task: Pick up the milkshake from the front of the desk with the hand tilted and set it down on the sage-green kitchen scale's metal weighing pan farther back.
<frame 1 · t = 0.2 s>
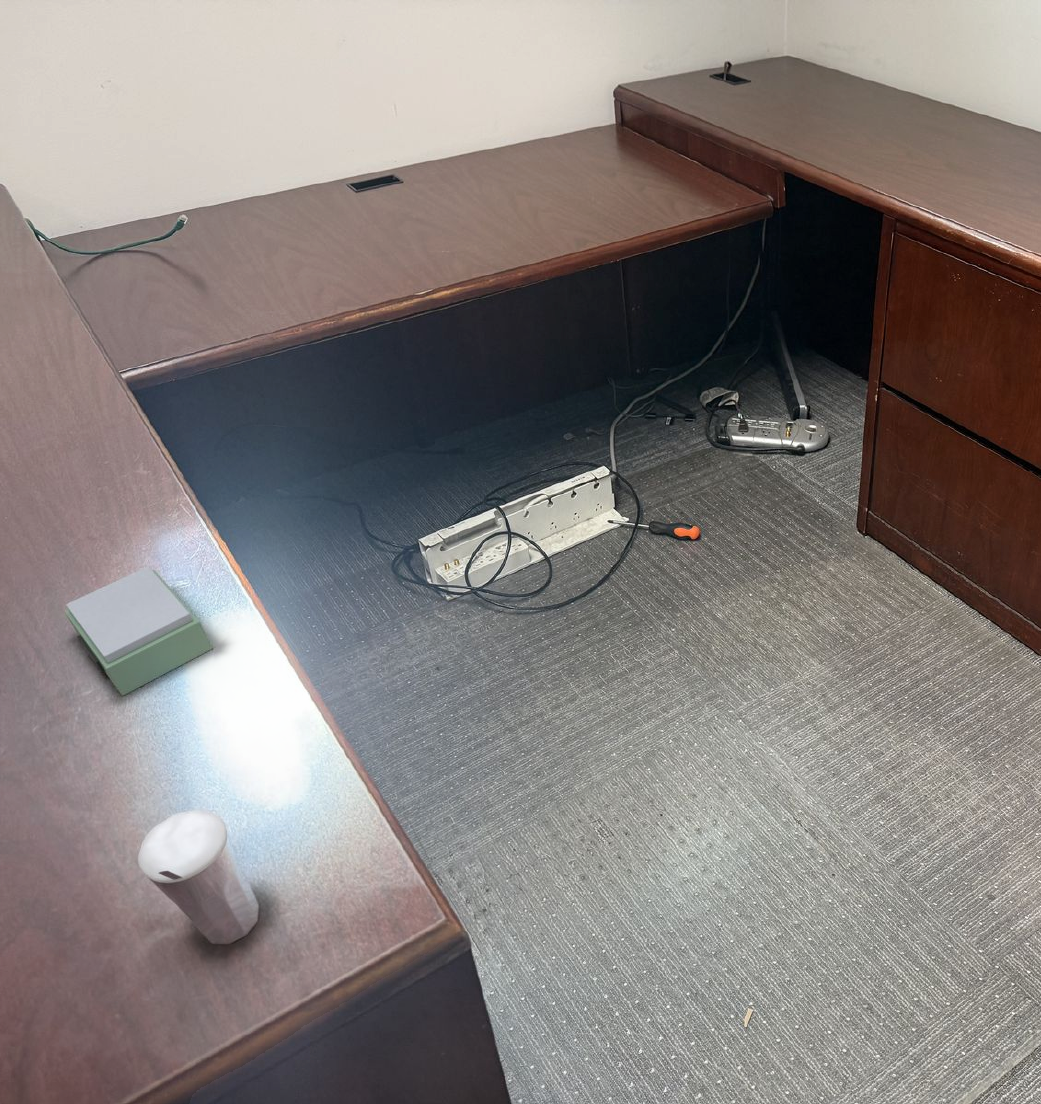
milkshake: (232, 928, 62), on the table
scale: (146, 643, 80), on the table
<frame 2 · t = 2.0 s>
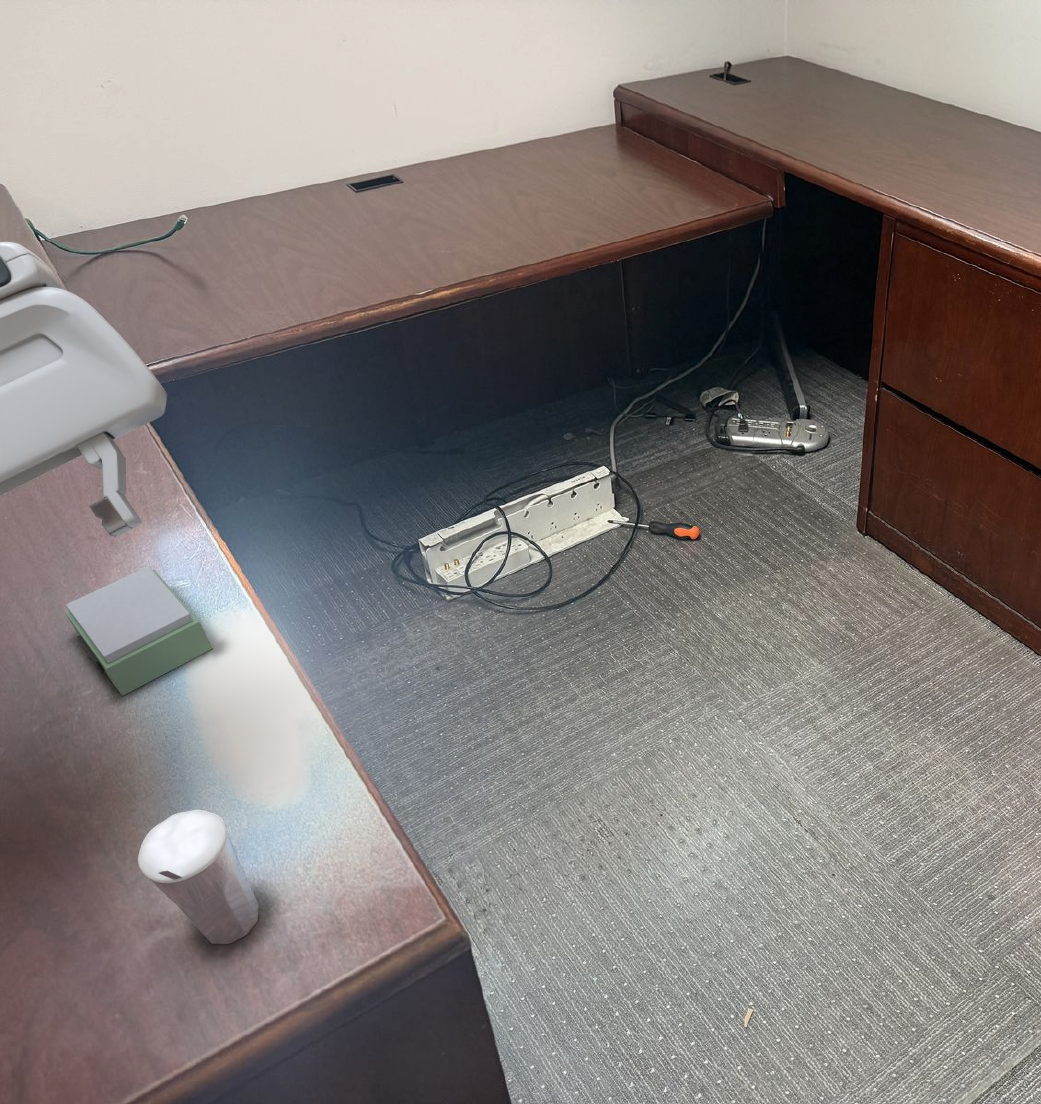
hand: (35, 578, 51), 23 cm above the table, tool tilted 40°, fingers open, 8 cm apart
nothing on the table moved.
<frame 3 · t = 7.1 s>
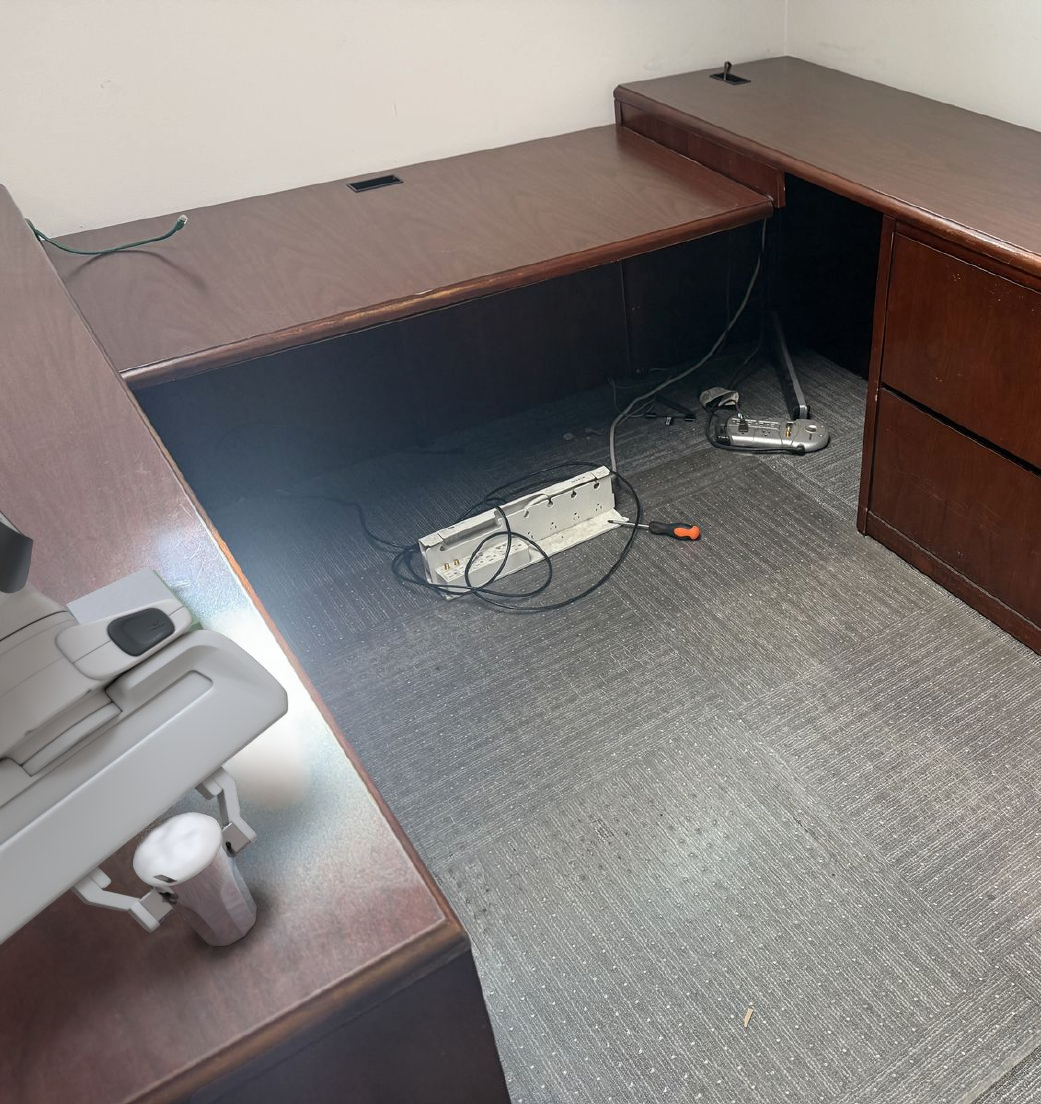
hand: (206, 883, 58), 5 cm above the table, tool tilted 45°, fingers closed on milkshake, 4 cm apart
milkshake: (230, 929, 61), on the table, touching gripper
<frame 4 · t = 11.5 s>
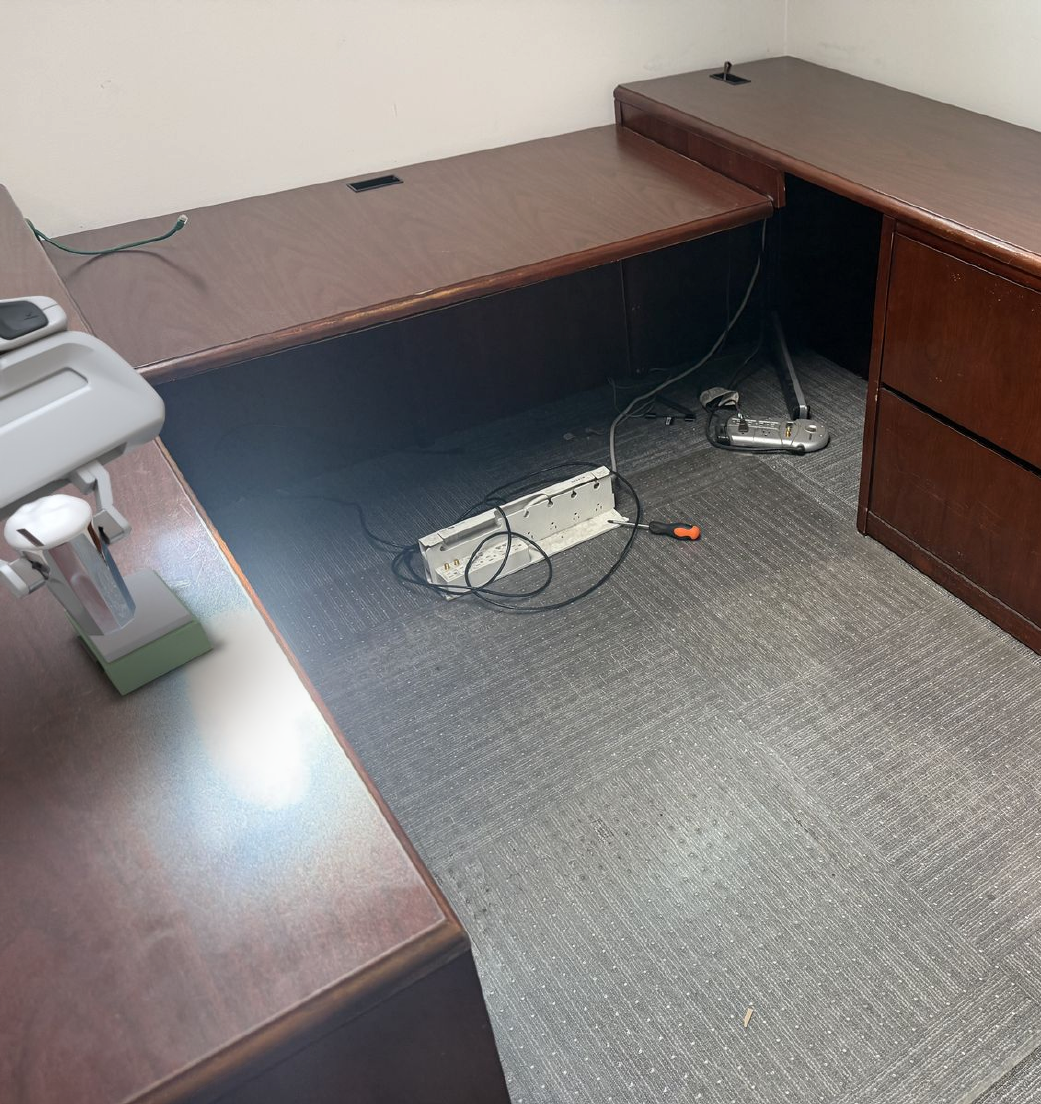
hand: (78, 563, 61), 18 cm above the table, tool tilted 45°, fingers closed on milkshake, 4 cm apart
milkshake: (109, 625, 64), point 12 cm above the table, touching gripper
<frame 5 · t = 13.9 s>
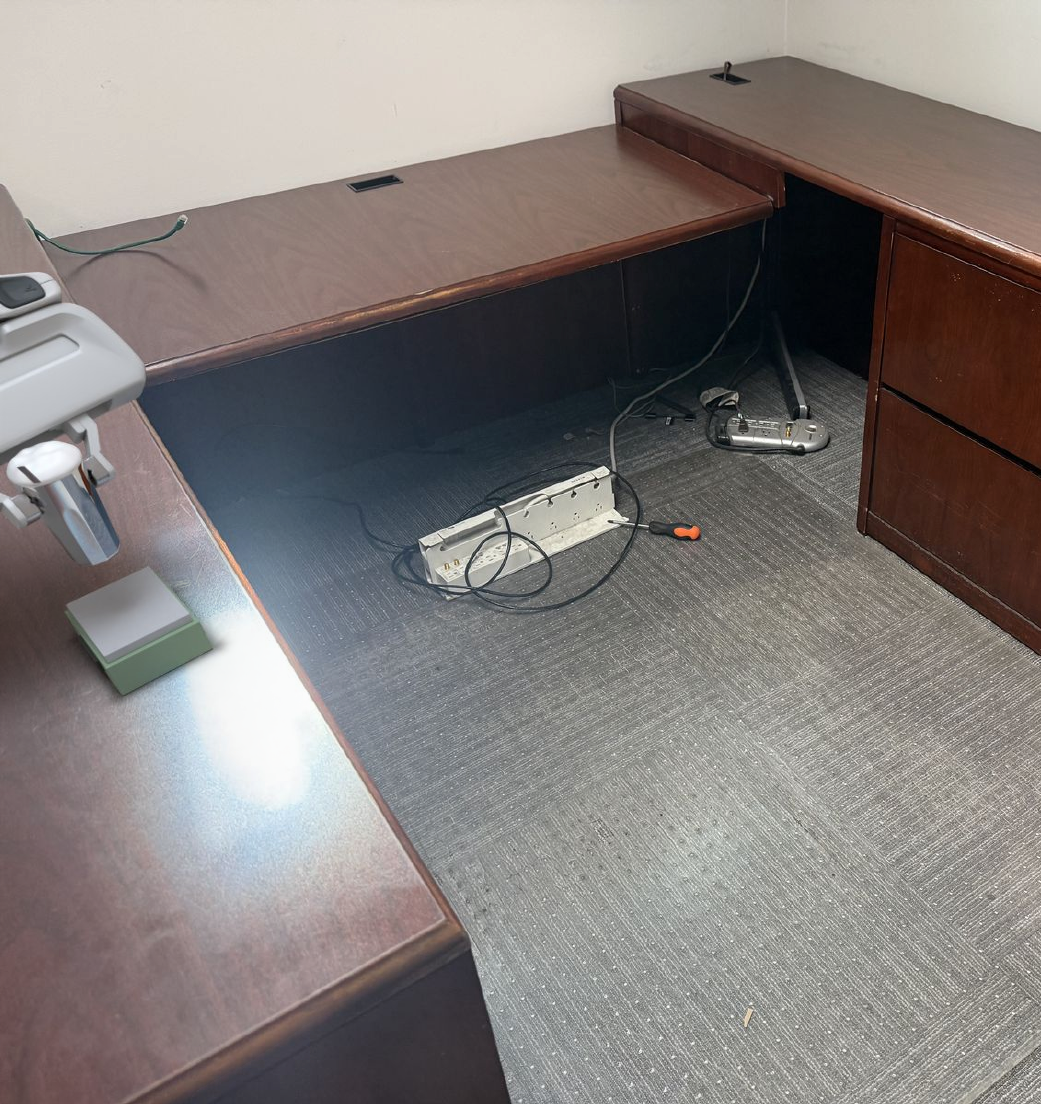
hand: (70, 500, 71), 15 cm above the table, tool tilted 45°, fingers closed on milkshake, 4 cm apart
milkshake: (97, 557, 75), point 9 cm above the table, touching gripper
when the fingers open (9 cm above the table, at t = 15.9 s): milkshake stays where it is, resting on scale.
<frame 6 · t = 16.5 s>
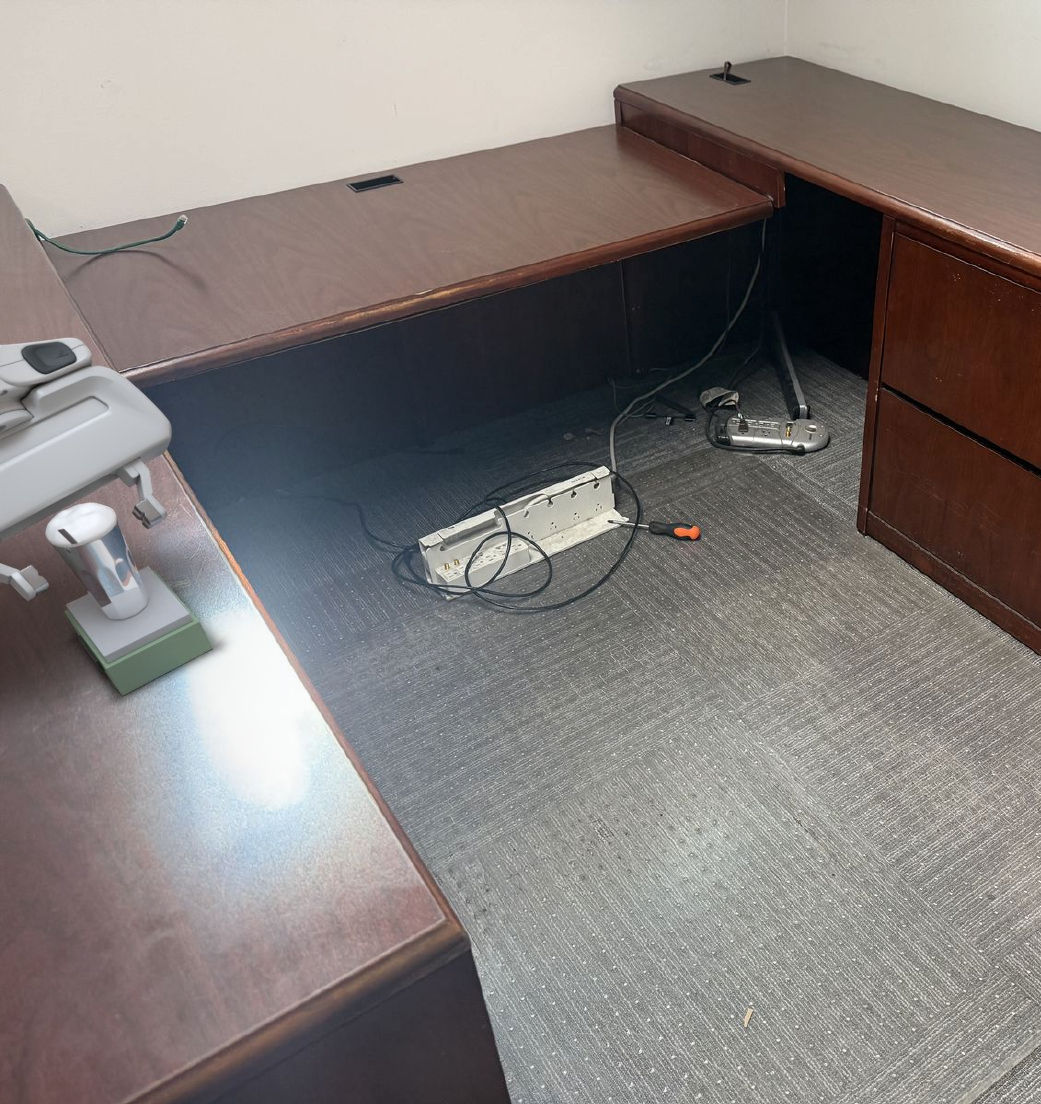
hand: (101, 556, 74), 9 cm above the table, tool tilted 45°, fingers open, 8 cm apart
milkshake: (126, 611, 78), point 4 cm above the table, touching scale
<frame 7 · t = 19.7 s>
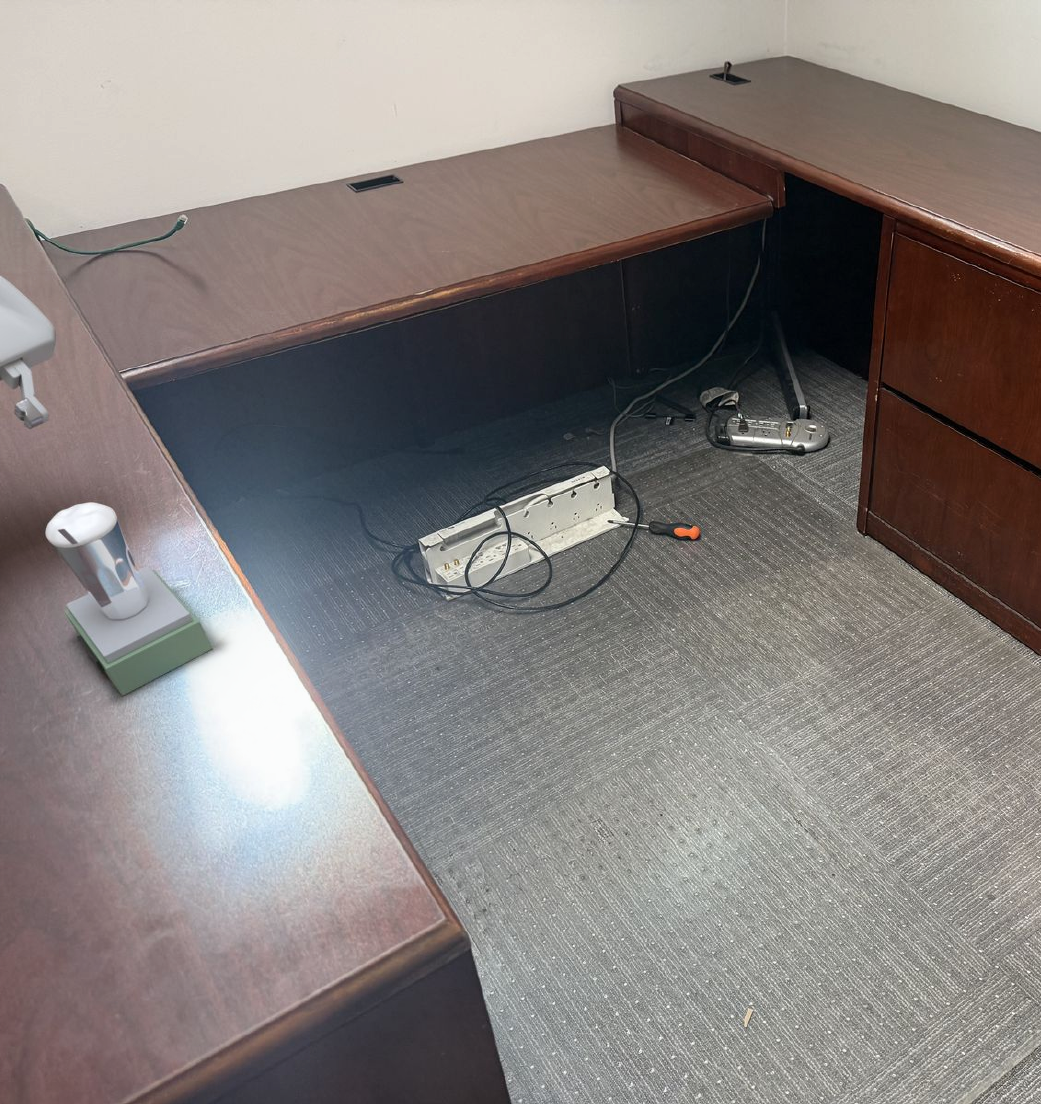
nothing on the table moved.
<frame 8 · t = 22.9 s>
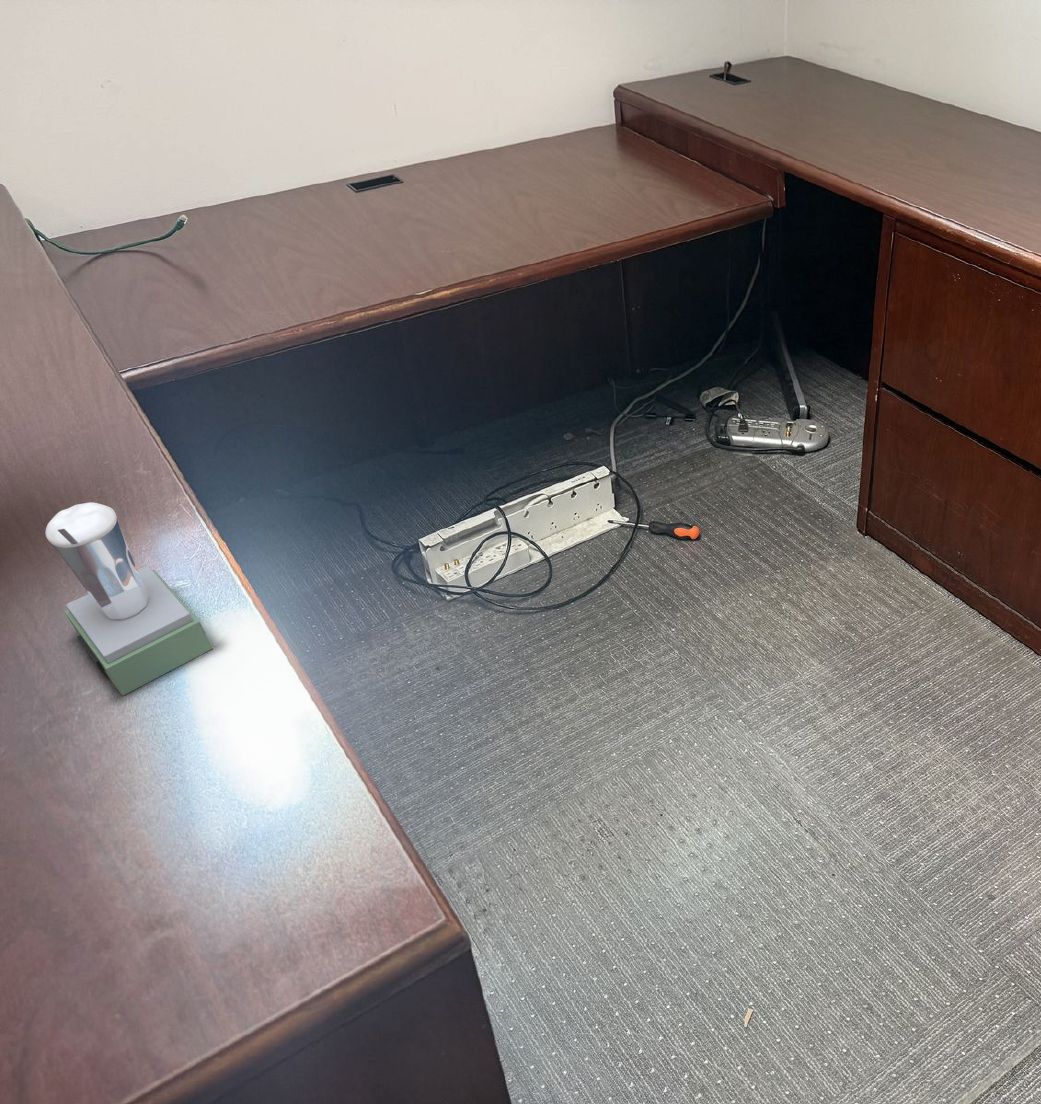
nothing on the table moved.
at the end: milkshake inside the target area on the scale (0.1 cm from its centre), point 3.6 cm above the scale's base; milkshake tilted 0°; the gripper is holding nothing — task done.
